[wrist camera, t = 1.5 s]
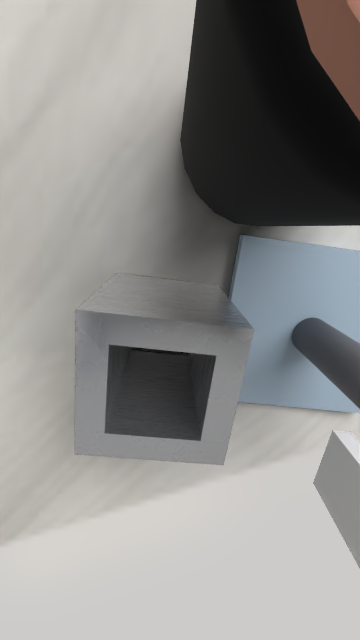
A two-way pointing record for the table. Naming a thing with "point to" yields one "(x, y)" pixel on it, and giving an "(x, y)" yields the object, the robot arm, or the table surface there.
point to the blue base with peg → (299, 323)
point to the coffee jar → (275, 111)
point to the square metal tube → (158, 370)
